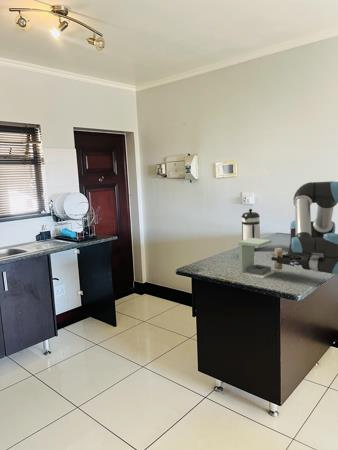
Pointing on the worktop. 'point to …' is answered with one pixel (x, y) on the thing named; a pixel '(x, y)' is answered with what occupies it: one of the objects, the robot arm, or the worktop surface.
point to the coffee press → (250, 226)
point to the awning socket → (252, 258)
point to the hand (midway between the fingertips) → (269, 256)
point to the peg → (279, 253)
